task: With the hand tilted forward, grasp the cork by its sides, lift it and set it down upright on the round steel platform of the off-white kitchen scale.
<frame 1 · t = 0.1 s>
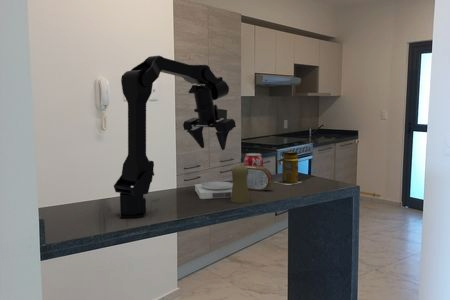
hand: (213, 148, 139), 15 cm above the counter, tool pointing down, fingers open, 9 cm apart
scale: (217, 193, 141), on the counter
tin: (251, 190, 147), on the counter
condiment: (288, 183, 159), on the counter
soda can: (253, 186, 152), on the counter
cork: (240, 201, 130), on the counter
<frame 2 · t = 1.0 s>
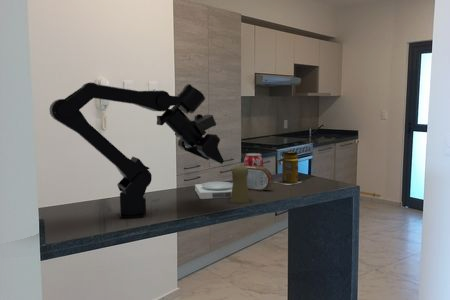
hand: (215, 160, 125), 13 cm above the counter, tool tilted 45°, fingers open, 9 cm apart
nothing on the counter moved.
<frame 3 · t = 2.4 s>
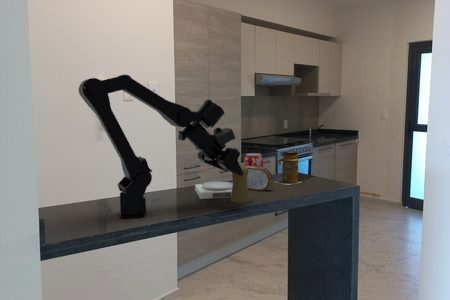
hand: (234, 172, 128), 9 cm above the counter, tool tilted 45°, fingers open, 9 cm apart
nothing on the counter moved.
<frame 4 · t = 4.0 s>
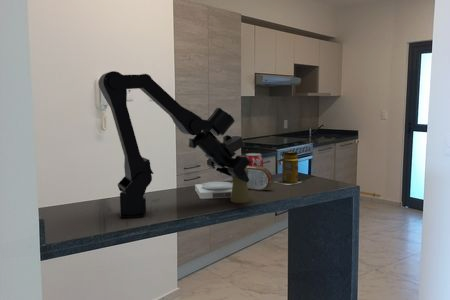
hand: (243, 179, 130), 7 cm above the counter, tool tilted 45°, fingers closed on cork, 5 cm apart
cork: (240, 201, 130), on the counter, touching gripper
everything else where it was.
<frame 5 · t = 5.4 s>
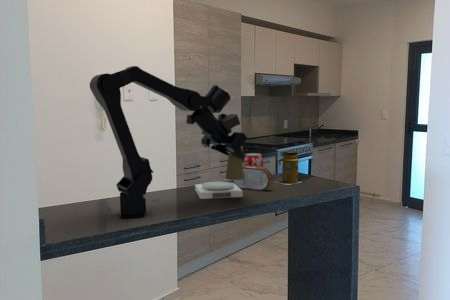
hand: (238, 157, 132), 13 cm above the counter, tool tilted 45°, fingers closed on cork, 5 cm apart
cork: (234, 178, 132), point 6 cm above the counter, touching gripper
everything else where it was.
when the fingers open (11 cm above the counter, at t = 7.0 s): cork drops 1 cm, resting on scale.
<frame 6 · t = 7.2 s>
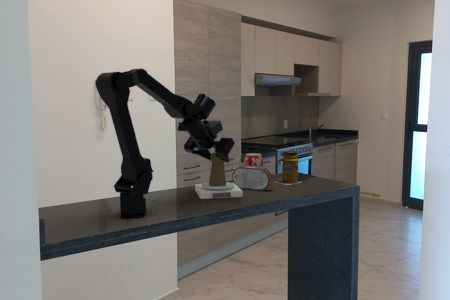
hand: (220, 161, 141), 11 cm above the counter, tool tilted 45°, fingers open, 7 cm apart
cork: (217, 185, 140), point 3 cm above the counter, touching scale
everything else where it was.
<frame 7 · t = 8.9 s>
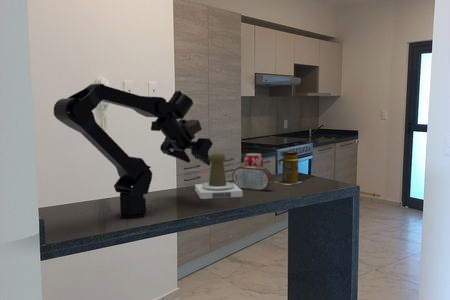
hand: (199, 163, 132), 12 cm above the counter, tool tilted 45°, fingers open, 9 cm apart
nothing on the counter moved.
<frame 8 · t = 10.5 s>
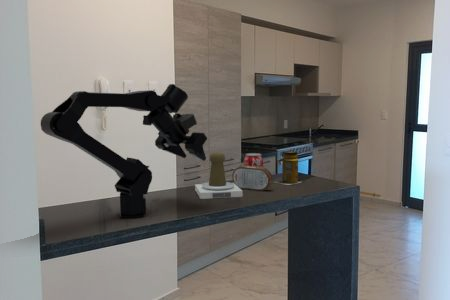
hand: (194, 158, 129), 14 cm above the counter, tool tilted 45°, fingers open, 9 cm apart
nothing on the counter moved.
at the end: cork inside the target area on the scale (0.3 cm from its centre), point 2.8 cm above the scale's base; cork tilted 0°; the gripper is holding nothing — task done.
